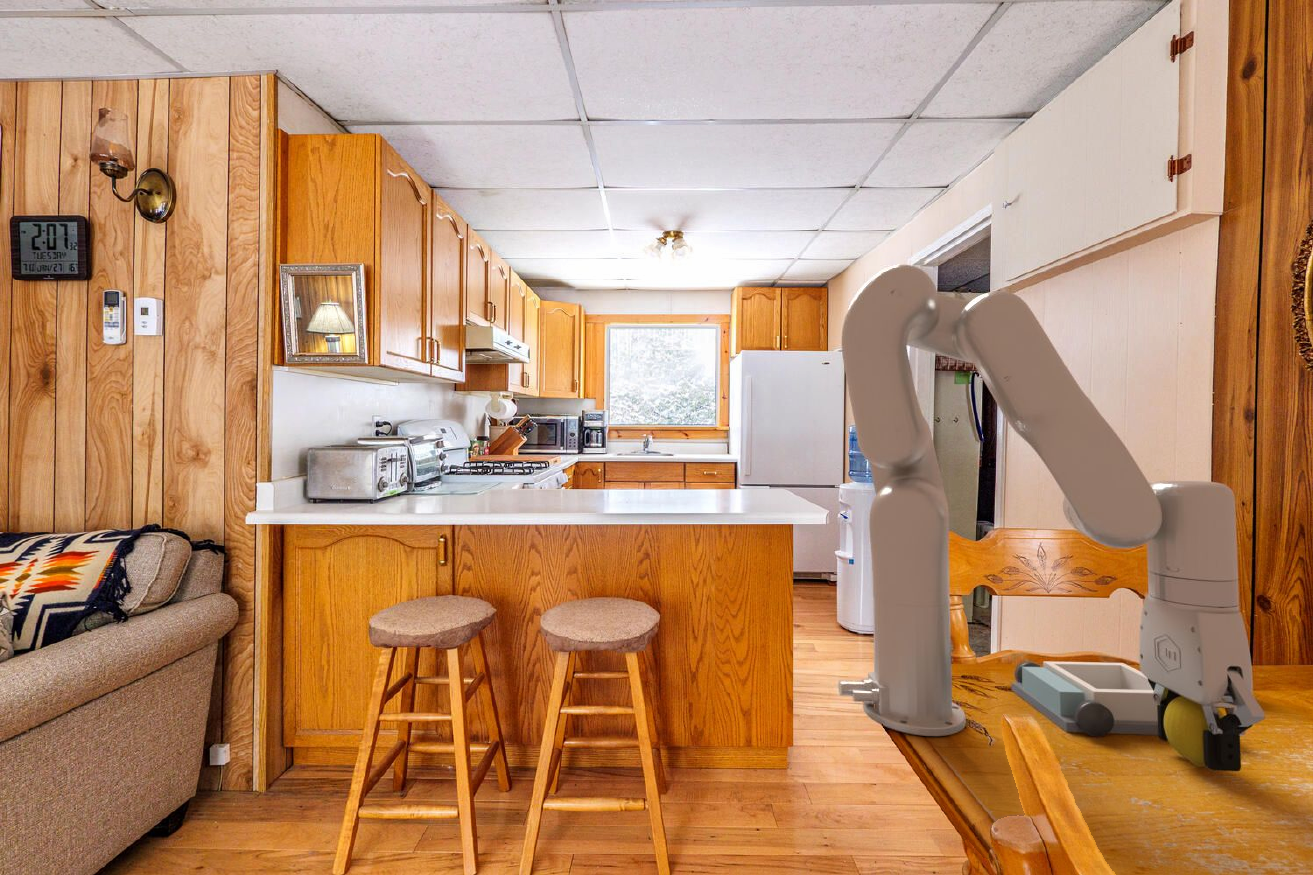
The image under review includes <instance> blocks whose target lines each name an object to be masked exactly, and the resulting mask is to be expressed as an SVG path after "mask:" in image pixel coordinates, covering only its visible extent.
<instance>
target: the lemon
mask: <svg viewBox="0 0 1313 875" xmlns="http://www.w3.org/2000/svg"><path fill="white" fill-rule="evenodd" d="M1217 711H1218V715H1219V718H1220V719H1221V718H1222V717H1224V716H1225V715H1223V714H1224V713H1223V712H1222V711H1221V709H1220V708H1217ZM1164 729H1165V733H1166V736H1167V739H1168V741H1167V742H1169V745H1171V747H1172V748H1173V749H1174V750H1175V751H1176V752H1177V753H1178V754H1180V755H1181V756H1182V757H1184V758H1185V759H1188V760H1189V761H1190V763H1192V764H1193V766H1194V767H1197V768H1198V767H1199V768H1202V767H1204V766H1205V764H1204V743H1203V730H1209V728H1208V724H1207V721H1206V717H1205V714H1204V711H1203V707H1202V705H1201V704H1198V703H1195V702H1193V701H1191V700H1189V699H1187V698H1185V697H1183V696H1180V697H1177V698H1175V699H1173V700H1172V701H1171V702H1170V703H1169V704H1168V706H1167V708H1166V711H1165V715H1164Z"/></svg>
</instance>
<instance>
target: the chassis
mask: <svg viewBox="0 0 1313 875" xmlns="http://www.w3.org/2000/svg"><path fill="white" fill-rule="evenodd" d="M1014 679H1015V680H1016V682H1014V681H1012V682H1011V691H1012V692H1013V693H1014V694H1016V695H1017V696H1018V697H1020V698H1021V699H1022V700H1024V702H1026V703H1028V704H1029V705H1030V706H1032V707H1033V708H1034V709H1035V710H1037V711H1038V712H1039V713H1041V714H1042V715H1043V716H1045V717H1046V718H1047V719H1049V720H1050V721H1051V722H1053V723H1054V724H1055V725H1057V727H1059V728H1061V730H1063V731H1064V732H1066V733H1084V734H1085V733H1086V734H1088V735H1089V736H1091V737H1094V738H1095V737H1096V738H1102V737H1104V736H1105V737H1106V735H1108V734H1120V735H1121V734H1123V735H1124V734H1125V735H1157V736H1158V714H1157V705H1160V704H1158V703H1156V702H1155V701H1154V699H1153V692H1154V691H1153V689H1152V687H1151V685H1150V684H1149V682H1148V678H1147V677H1146V676H1145V675H1144V674H1143V673H1142V672H1141V670H1138V669H1136V668H1134V667H1133V666H1130V665H1128V664H1126V663H1123V662H1098V661H1097V662H1095V661H1094V662H1093V661H1092V662H1090V661H1089V662H1088V661H1087V662H1086V661H1049V660H1048V661H1043V662H1042V666H1041V665H1039V663H1038V664H1037V663H1036V662H1034V661H1031V660H1025V661H1022V662H1020V663H1019V664H1018V665H1017V666H1016V668H1015V670H1014ZM1223 715H1224V713H1223ZM1224 716H1225V715H1224Z"/></svg>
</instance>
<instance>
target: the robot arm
mask: <svg viewBox="0 0 1313 875" xmlns="http://www.w3.org/2000/svg"><path fill="white" fill-rule="evenodd" d="M855 294H856V295H855V296H854V298H852V300H851V302H850V304H849V306H848V309H847V311H846V314H845V316H844V320H843V325H842V332H841V352H842V361H843V366H844V371H845V376H846V381H847V388H848V396H849V399H850V405H851V410H852V415H853V420H854V426H855V432H856V439H857V445H858V447H859V451H860V452H861V454H862V455H863V457H864V458H865V460H867V461H868V464H869V465H868V466H869V469H870V474H871V478H872V483H873V487H874V492H875V496H874V498H873V500H872V503H871V506H870V510H869V517H868V519H869V520H868V521H869V522H868V523H869V527H868V528H869V539H870V552H871V567H872V568H871V569H872V570H871V573H872V574H871V575H872V580H871V581H872V604H873V605H872V606H873V607H872V610H873V611H872V612H873V614H872V615H873V617H872V618H873V661H874V662H873V666H874V667H873V672H871V671H870V672H867V678H861V681H853V680H838V693H839V695H840V696H843V697H844V696H847V697H849V696H850V697H852V700H853V701H852V702H862V709H863V712H865V714H866V715H867V717H869V718H870V719H871V720H872V721H874V722H876V723H877V724H879V725H880V726H884V727H886V728H888V729H891V730H894V731H896V732H897V731H898V732H901V733H905V734H910V735H915V736H925V737H942V736H943V737H945V736H950V735H954V734H957V733H959V732H960V731H962V730H964V728H965V727H966V723H967V722H966V721H967V720H966V719H967V716H966V713H965V712H964V710H963V709H962V707H960V706H959V705H958V704H956V703H955V702H953V693H952V692H953V690H952V689H953V686H952V684H953V682H952V645H951V644H952V641H951V640H952V638H951V600H950V599H951V598H950V596H951V595H950V552H949V551H950V549H949V547H950V546H949V545H950V543H949V542H950V516H949V515H950V513H949V505H948V500H947V496H946V492H945V489H944V485H943V479H942V475H941V471H940V467H939V462H938V458H937V454H936V453H937V452H936V449H935V445H934V444H935V443H934V441H933V440H934V439H933V437H932V432H931V428H930V426H929V423H928V421H927V420H926V418H925V416H924V415H923V413H922V411H921V407H920V404H919V400H918V395H917V392H916V387H915V383H914V379H913V378H914V377H913V372H912V367H911V364H910V359H909V354H908V348H907V347H912V348H915V349H919V350H922V351H926V352H928V353H929V352H930V353H932V354H935V355H940V356H943V357H947V358H951V359H954V360H959V361H962V362H967V363H970V364H973V365H974V366H975V368H976V370H977V372H978V373H979V375H980V377H981V378H982V380H983V382H984V384H985V385H986V387H987V389H988V391H989V392H990V393H991V394H990V395H992V397H993V399H994V400H995V402H996V404H997V406H998V408H999V409H1000V411H1001V413H1002V414H1003V417H1004V418H1005V420H1006V422H1008V424H1009V425H1010V427H1011V428H1012V429H1013V430H1014V432H1016V434H1017V435H1019V437H1020V438H1022V439H1023V441H1025V442H1026V443H1027V444H1028V445H1029V446H1030V447H1031V448H1032V449H1033V450H1034V451H1035V453H1036V455H1038V456H1039V458H1040V459H1041V461H1042V462H1043V463H1044V465H1045V466H1046V468H1047V469H1048V471H1049V472H1050V474H1051V475H1052V478H1053V479H1054V480H1055V482H1056V484H1057V485H1058V487H1059V488H1060V490H1061V492H1062V494H1063V496H1064V498H1063V502H1062V510H1063V514H1064V516H1065V519H1066V520H1067V522H1068V523H1069V525H1070V526H1071V527H1073V529H1074V530H1075V531H1077V532H1078V533H1080V534H1082V535H1084V536H1085V537H1087V538H1088V539H1091V540H1093V541H1094V542H1095V543H1098V544H1100V545H1103V546H1105V547H1108V548H1113V549H1122V550H1123V549H1124V550H1125V549H1133V548H1137V547H1140V546H1142V545H1145V544H1146V552H1147V553H1146V554H1147V555H1146V557H1147V581H1148V582H1147V583H1148V584H1147V585H1148V586H1147V588H1148V591H1147V592H1148V594H1146V595H1145V597H1144V601H1143V605H1142V610H1141V615H1140V625H1139V639H1138V640H1139V642H1138V643H1139V644H1138V645H1139V646H1138V647H1139V648H1138V649H1139V650H1138V664H1139V671H1140V672H1142V673H1143V674H1144V675H1145V676H1146V677H1147V678H1148V682H1149V684H1150V685H1151V687H1152V689H1153V691H1154V692H1153V699H1154V701H1155V702H1156V703H1158V704H1160V705H1157V714H1158V735H1157V737H1158V738H1159V739H1160V740H1162V741H1163V742H1169V741H1168V739H1167V736H1166V733H1165V729H1164V715H1165V711H1166V708H1167V706H1168V704H1169V703H1170V702H1171V701H1172V700H1173V699H1175V698H1177V697H1180V696H1183V697H1185V698H1187V699H1189V700H1191V701H1193V702H1195V703H1198V704H1201V705H1202V707H1203V711H1204V714H1205V717H1206V721H1207V724H1208V728H1209V730H1203V743H1204V764H1205V765H1204V766H1205V767H1206V768H1207V769H1208V770H1211V771H1214V772H1215V771H1221V772H1223V771H1224V772H1239V771H1241V769H1242V760H1241V759H1242V756H1241V736H1245V735H1246V733H1247V730H1249V729H1250V728H1252V727H1253V726H1254V725H1256V724H1257V723H1260V722H1261V721H1264V720H1265V719H1266V714H1265V712H1264V710H1263V708H1262V707H1261V705H1260V704H1259V703H1258V701H1257V699H1256V697H1255V696H1254V694H1253V690H1254V687H1253V686H1254V684H1253V683H1254V682H1253V669H1252V658H1251V652H1250V645H1249V641H1248V634H1247V631H1246V630H1247V629H1246V626H1245V623H1244V619H1243V615H1242V612H1241V611H1240V592H1239V568H1238V543H1237V542H1238V540H1237V539H1238V538H1237V537H1238V536H1237V517H1236V516H1237V514H1236V513H1237V512H1236V497H1235V493H1234V491H1233V490H1232V488H1230V486H1228V485H1226V484H1224V483H1220V482H1215V481H1204V480H1203V481H1201V480H1200V481H1198V480H1197V481H1196V480H1195V481H1194V480H1163V481H1157V482H1149V481H1148V479H1147V478H1146V476H1145V474H1144V473H1143V471H1142V470H1141V468H1140V467H1139V465H1138V464H1137V462H1136V460H1135V459H1134V457H1133V456H1132V454H1131V453H1130V451H1129V450H1128V448H1127V447H1126V445H1125V443H1123V441H1122V440H1121V438H1120V437H1119V436H1118V434H1117V432H1115V430H1114V429H1113V428H1112V426H1111V425H1110V424H1109V423H1108V422H1107V420H1106V419H1105V418H1104V416H1102V414H1101V413H1100V411H1099V410H1098V409H1097V407H1096V406H1095V404H1094V403H1093V401H1092V400H1091V399H1090V398H1089V397H1088V396H1087V395H1086V393H1084V391H1083V390H1082V389H1081V387H1080V385H1079V384H1078V382H1077V380H1076V379H1075V378H1074V376H1073V374H1072V373H1071V372H1070V370H1069V368H1068V366H1067V365H1066V364H1065V362H1064V361H1063V359H1062V358H1061V356H1060V354H1059V353H1058V351H1057V349H1056V348H1055V346H1054V344H1053V343H1052V342H1051V341H1052V340H1051V339H1050V338H1049V336H1048V335H1047V333H1046V331H1045V330H1044V328H1043V327H1042V325H1041V324H1040V322H1039V320H1038V319H1037V317H1036V316H1035V314H1034V312H1033V311H1032V309H1031V308H1030V306H1029V305H1028V304H1027V303H1026V302H1025V301H1024V299H1022V298H1021V297H1020V296H1019V295H1017V294H1015V293H1013V292H1011V291H1005V290H993V291H989V292H986V293H983V294H981V295H979V296H976V297H975V298H973V299H972V300H971V301H969V300H966V299H960V298H956V297H954V296H953V297H952V296H949V295H945V294H941V293H938V291H937V288H936V285H935V283H934V282H933V279H932V277H930V275H929V274H927V273H926V272H925V271H924V270H922V269H921V268H919V267H917V266H915V265H910V264H897V265H891V266H889V267H887V268H884V269H882V270H881V271H879V272H878V273H877V274H875V275H874V276H872V277H871V278H870V279H868V281H867V282H866V283H864V284H863V286H862V287H860V289H859V290H858V292H857V293H855ZM1222 700H1223V701H1222ZM874 704H875V708H874ZM1217 708H1218V709H1224V711H1225V715H1224V717H1222V718H1221V719H1220V718H1219V715H1218V711H1217ZM882 724H883V725H882Z"/></svg>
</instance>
